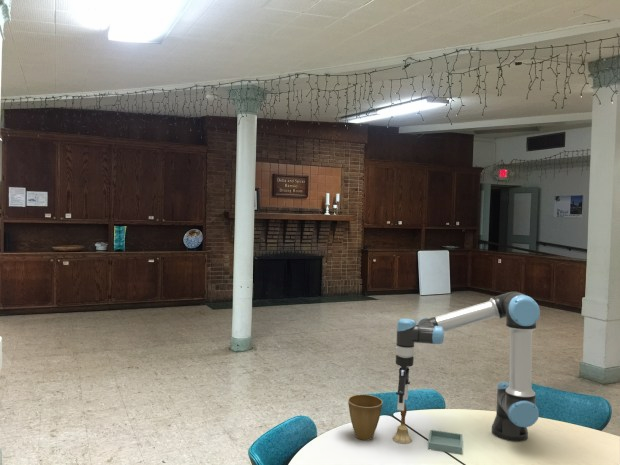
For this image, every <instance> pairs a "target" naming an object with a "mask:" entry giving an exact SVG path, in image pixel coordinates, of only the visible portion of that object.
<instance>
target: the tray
mask: <svg viewBox="0 0 620 465" xmlns="http://www.w3.org/2000/svg"><path fill="white" fill-rule="evenodd" d="M430 449H431V451H437V452H444V453H448V454H449V453H451V454H458V455H463V434H462V433H456V432H448V431H442V430H435V429H430V430H429V435H428V440H427V450H430Z"/></svg>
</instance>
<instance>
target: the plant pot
mask: <svg viewBox="0 0 620 465" xmlns="http://www.w3.org/2000/svg"><path fill="white" fill-rule="evenodd" d="M347 402H348V403H347V404H348V411H349V417H350V421H351V426H352V429H353V432H354V435H355V437H356V439H359V440H361V441H369V440H372V439H373V437H374V435H375V433H376V430H377V427H378V425H379V420H380V418H381V414H382V407H383V403H384V402H383V400H382V399H381V398H380V397H378V396H375V395H371V394H364V393H363V394H355V395H351V396H348V399H347Z"/></svg>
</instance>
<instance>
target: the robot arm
mask: <svg viewBox="0 0 620 465" xmlns="http://www.w3.org/2000/svg"><path fill="white" fill-rule="evenodd" d="M540 310H541V308H540V306H539V304H538V303H537V302H536V300H534V299H533V297H531V296H528V295H526V294H524V293H522V292H520V291H519V292H518V291H510V292H506V293H502V294H499V295H495V296H492V297H490V299H489V300H488V301H484V302H481V303H478V304H474V305H470V306H467V307H463V308H461V309H456V310H453V311H450V312H446V313H443V314H440V315H436V316H434V317H430V318H427V317H423V318H420V319H419V320H418V321H417V324H416V321H415V320H414V319H412V318H411V319H410V318H400V319H398V321H397V327H396V328H397V329H396V346H394V349H395V354H396V355H395V364H396V365H397V366H399V369H398V373H399V375H398V387H397V392H396V395H397V406H396V409H397V411H401V410H402V411H404V403H405V401H408V399H409V398H408V395H409V385H411V381H410V378H409V375H410V374H409V373H410V368H409V367H412V366H414V358H415V356H414V355H415V344H417V343H418V344H430V345H431V344H432V345H441V344H443V342H444V338H445V336H444V335H445V332H448V331H452V330H455V329H459V328H462V327H466V326H470V325H472V324H473V325H474V324H477V323H480V322H484V321H488V320H491V319H494V318H496V319H497V320H499V319H503V318H505V321H506V323H505V326H506V328H507V329H508V330H509V381H501V382H498V383H497V388H496V392H497V393H496V414H495V417H494V420H493V422H492V425H491V433H492V435H494V436H495V437H497V438H498V439H501V440H505V441H508V442H509V441H510V442H524V441H527V439H528V438H529V431H528V428H529V427H531V426H532V427H533V425H535V424H536V423H537V421H538V420H539V417H540V416H539V415H540V414H539V412H540V411H539V408H538V407H537V405H536V392H535V391H534V390H533V388H532V387H533V386H532V384H533V380H532V379H533V377H532V375H533V374H532V373H533V368H532V367H533V332H534V331H535V330H536V329H537V321H538V320H539V319H540V317H541V316H540V315H541V311H540Z"/></svg>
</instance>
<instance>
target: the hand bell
mask: <svg viewBox="0 0 620 465" xmlns="http://www.w3.org/2000/svg"><path fill="white" fill-rule="evenodd" d="M407 412H408V410H407V405H406V402H404V411H402V410H400V415H401V420H400V425H398V426H397V428H396V432H395V434H394V435H393V436H392V440H393V441H394V442H396V443H398V444H405V445H406V444H410V443H412V441H413V439H412V438H411V437H412V436H410V434H409V427H408V426H407V425H406V416H407Z"/></svg>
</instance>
